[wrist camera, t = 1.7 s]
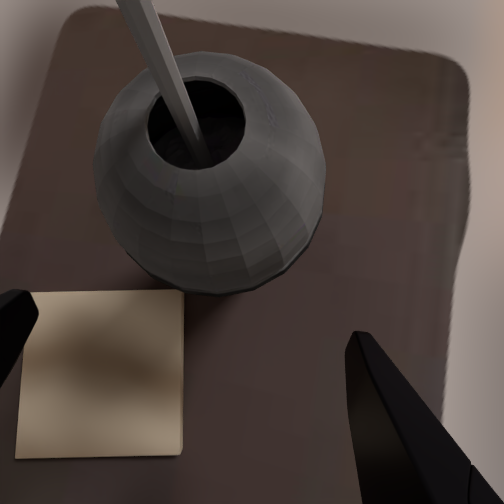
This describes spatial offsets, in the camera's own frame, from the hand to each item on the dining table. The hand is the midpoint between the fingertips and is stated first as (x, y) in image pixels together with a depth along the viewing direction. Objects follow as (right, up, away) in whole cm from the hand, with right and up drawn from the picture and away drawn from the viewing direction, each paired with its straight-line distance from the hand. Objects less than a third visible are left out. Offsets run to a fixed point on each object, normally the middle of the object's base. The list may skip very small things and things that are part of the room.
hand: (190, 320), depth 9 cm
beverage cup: (+1, +2, +13) cm, 14 cm away
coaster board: (-8, -6, +12) cm, 15 cm away
